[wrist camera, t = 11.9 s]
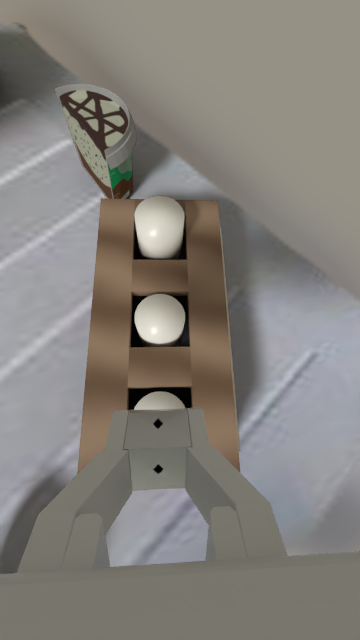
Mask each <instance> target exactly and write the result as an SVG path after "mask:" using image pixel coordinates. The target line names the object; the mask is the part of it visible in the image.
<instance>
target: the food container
mask: <svg viewBox="0 0 360 640" xmlns="http://www.w3.org/2000/svg"><path fill="white" fill-rule="evenodd" d="M55 91H56V96H57V100H58V103H59V105H61V108H62V111H63V114H64V116H65V119H66V122H67V125H68V128H69V130H70V133H71V136H72V139H73V142H74V144H75V147H76V150H77V153H78V155H79V158H80V161H81V164H82V167H83V168H84V169H85V171H86V172H87V173H88V175H89V176H90V177H91V179H92V180H93V181H94V183H95V184H96V185H97V186H98V188H99V189H100V190H101V192H102V193H103V194H104V196H105V197H106V198H107V199H129V198H130V196H131V194H132V191H133V175H132V151H133V149H134V146H135V143H136V129H135V125H134V122H133V119H132V116H131V114H130V112H129V110H128V108H127V107H126V105H125V103H124V102H123V101H122V100H121V99H120V98H119V97H118V96H117V95H116V94H114V93H113V92H111V91H109V90H107V89H105V88H102V87H98V86H94V85H88V84H71V85H65V86H61V87H57V88H55Z"/></svg>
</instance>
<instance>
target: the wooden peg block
mask: <svg viewBox="0 0 360 640" xmlns="http://www.w3.org/2000/svg"><path fill="white" fill-rule="evenodd" d="M143 200H145V199H101V206H100V218H99V230H98V241H97V253H96V264H95V276H94V288H93V299H92V311H91V322H90V334H89V346H88V357H87V369H86V380H85V392H84V404H83V415H82V427H81V438H80V450H79V462H78V473H79V472H80V471H81V470H82V469H83V468H84V467H85V466H86V465H87V464H88V463H89V462H90V461H91V460H92V459H93V458H94V457H95V456H96V455H97V454H98V453H99V452H100V451H105V446H106V442H107V437H108V433H109V428H110V423H111V419H112V414H113V412H114V410H128V407H129V389H132V388H187V387H191V407H192V408H202V409H203V413H204V418H205V424H206V429H207V435H208V440H209V445H210V447H215V448H216V449H217V450H218V451H219V452H220V453H221V454H222V455H223V456H224V457H225V458H226V459H227V460H228V461H229V462H230V463H231V464H232V465H233V466H234V467H235V468H236V469H237V470H238V471H239V472H240V464H239V452H238V440H237V428H236V415H235V403H234V391H233V379H232V367H231V355H230V343H229V331H228V319H227V307H226V295H225V283H224V270H223V258H222V246H221V234H220V222H219V210H218V201H205V200H175V201H176V202H178V203H179V204H180V206H181V207H182V209H183V211H184V216H185V217H184V228H183V239H182V249H181V254H180V256H179V257H186V260H134V257H142V256H141V254H140V251H139V244H138V238H137V231H136V225H135V217H134V215H135V210H136V208H137V206H138V205H139V204H140V203H141V202H142V201H143ZM154 294H166V295H169V296H188V320H189V347H131V323H132V296H151V295H154ZM78 473H77V474H78Z"/></svg>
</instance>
